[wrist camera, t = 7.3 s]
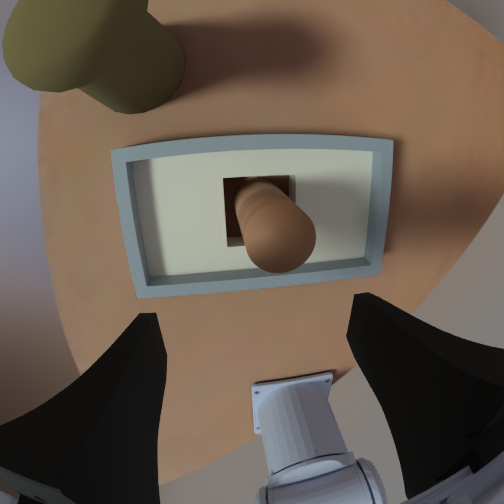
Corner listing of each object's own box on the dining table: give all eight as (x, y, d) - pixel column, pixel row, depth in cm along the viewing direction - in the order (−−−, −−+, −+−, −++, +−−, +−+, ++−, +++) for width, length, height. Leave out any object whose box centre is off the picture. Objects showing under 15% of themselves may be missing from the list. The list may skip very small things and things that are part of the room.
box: (362, 257, 21) (379, 274, 18) (145, 276, 19) (137, 298, 17) (370, 137, 17) (393, 140, 15) (125, 146, 16) (110, 150, 13)
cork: (180, 17, 13) (149, -90, 3) (191, 101, 15) (157, 54, 5) (90, 44, 12) (-12, -11, 2) (99, 125, 15) (-21, 135, 5)
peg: (282, 179, 18) (321, 208, 12) (277, 224, 19) (310, 273, 13) (235, 176, 17) (248, 203, 11) (231, 222, 19) (242, 272, 12)
